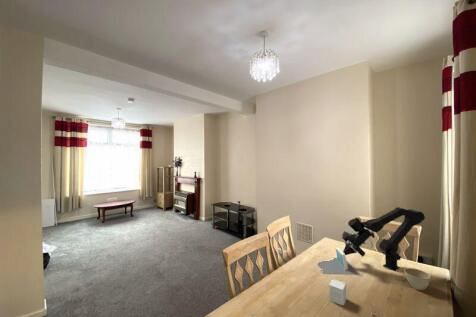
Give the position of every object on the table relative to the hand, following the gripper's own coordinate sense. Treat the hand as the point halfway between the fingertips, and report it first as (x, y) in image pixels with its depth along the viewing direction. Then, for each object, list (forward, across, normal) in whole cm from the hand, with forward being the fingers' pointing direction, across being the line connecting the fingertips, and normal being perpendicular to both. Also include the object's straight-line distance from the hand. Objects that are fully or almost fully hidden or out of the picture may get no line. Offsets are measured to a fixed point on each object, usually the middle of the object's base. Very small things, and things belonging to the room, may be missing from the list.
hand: (342, 254), depth 124 cm
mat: (+8, 0, +1) cm, 8 cm away
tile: (+5, 0, +4) cm, 6 cm away
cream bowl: (-15, +19, +25) cm, 35 cm away
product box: (+16, +31, -5) cm, 35 cm away
